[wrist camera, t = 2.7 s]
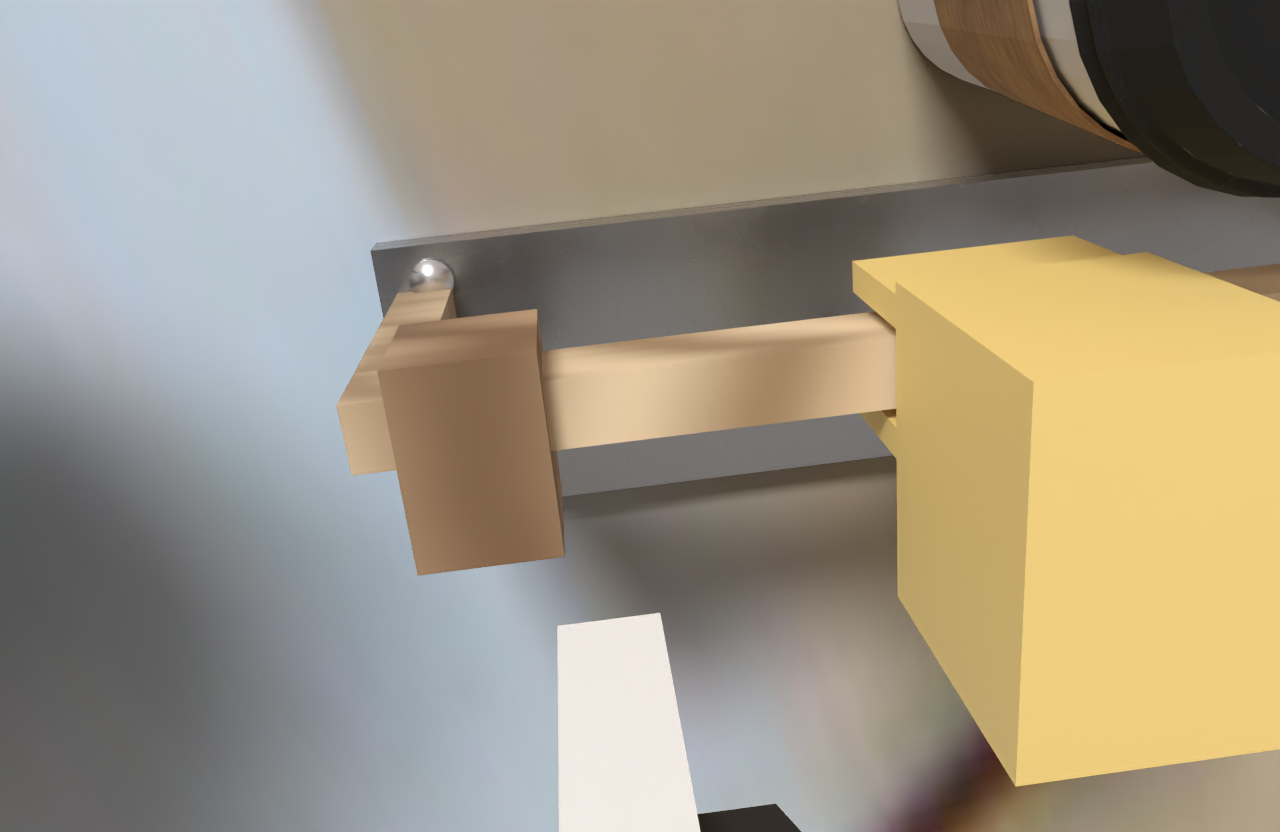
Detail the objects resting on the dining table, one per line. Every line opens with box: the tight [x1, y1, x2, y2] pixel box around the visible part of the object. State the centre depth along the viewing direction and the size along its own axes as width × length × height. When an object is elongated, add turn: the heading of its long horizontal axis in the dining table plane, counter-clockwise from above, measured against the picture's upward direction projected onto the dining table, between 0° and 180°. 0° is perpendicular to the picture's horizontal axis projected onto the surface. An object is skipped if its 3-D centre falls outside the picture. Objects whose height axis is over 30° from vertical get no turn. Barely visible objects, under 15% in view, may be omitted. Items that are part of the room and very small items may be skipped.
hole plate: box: [371, 157, 1280, 497], centre depth 30 cm, size 30×8×1 cm, turn 96°
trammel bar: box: [337, 264, 1280, 575], centre depth 25 cm, size 29×5×10 cm, turn 96°
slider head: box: [852, 235, 1280, 786], centre depth 23 cm, size 5×7×15 cm
